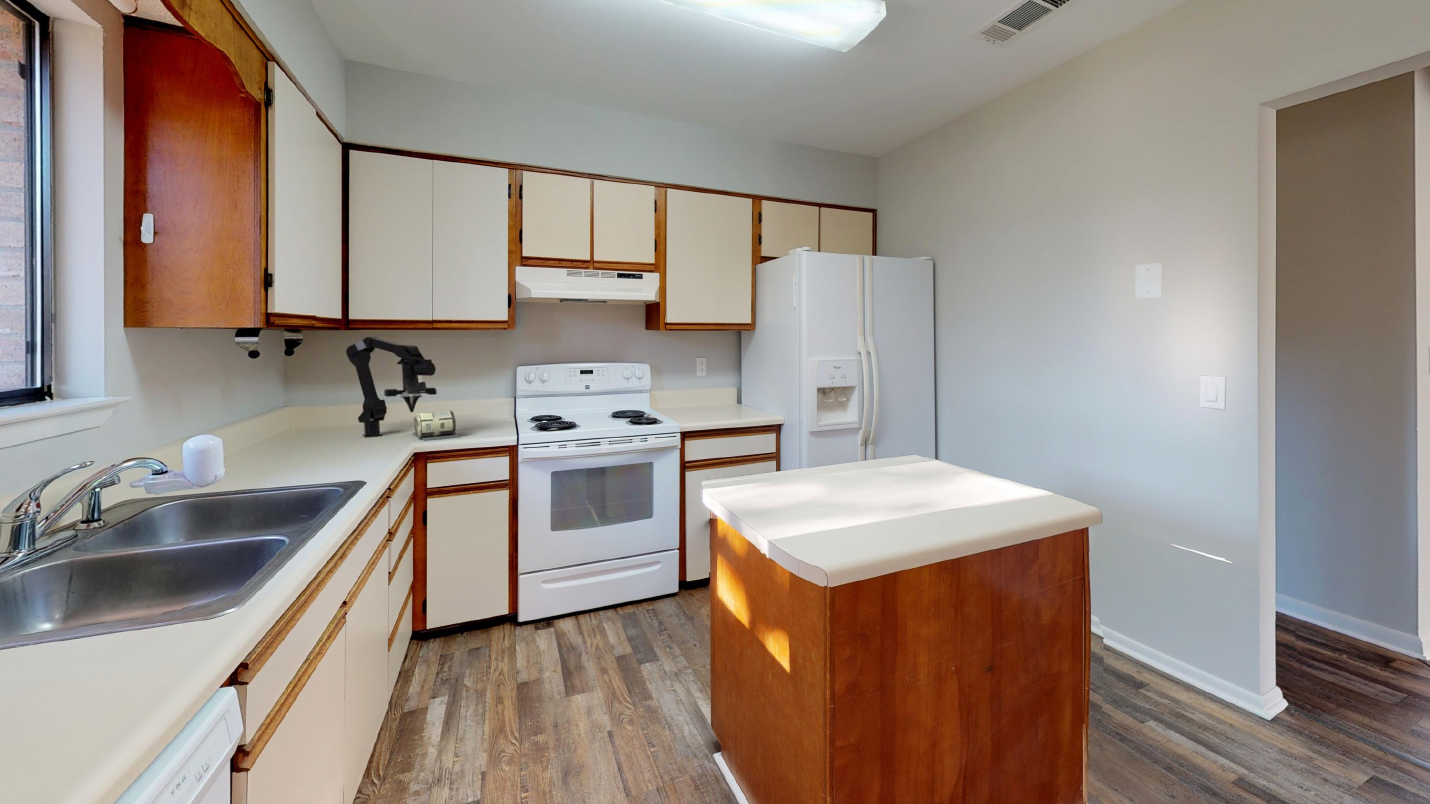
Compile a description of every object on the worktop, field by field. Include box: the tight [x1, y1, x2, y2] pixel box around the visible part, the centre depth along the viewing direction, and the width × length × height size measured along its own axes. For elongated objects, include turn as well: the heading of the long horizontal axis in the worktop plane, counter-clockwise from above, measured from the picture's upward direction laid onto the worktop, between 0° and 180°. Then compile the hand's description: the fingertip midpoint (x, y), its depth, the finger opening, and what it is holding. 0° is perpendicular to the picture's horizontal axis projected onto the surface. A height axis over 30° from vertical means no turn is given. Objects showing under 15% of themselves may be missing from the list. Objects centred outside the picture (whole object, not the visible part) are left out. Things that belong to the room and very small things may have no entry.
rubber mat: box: [412, 431, 461, 441], centre depth 243 cm, size 20×14×1 cm
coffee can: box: [413, 410, 457, 439], centre depth 238 cm, size 10×10×14 cm
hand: (411, 412), depth 236 cm, fingers closed
